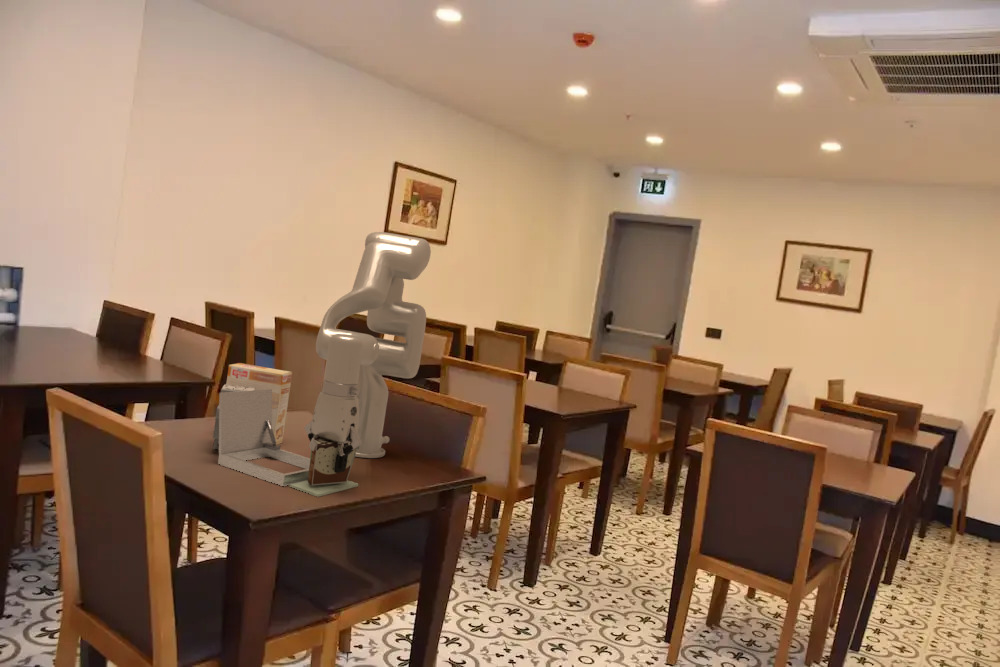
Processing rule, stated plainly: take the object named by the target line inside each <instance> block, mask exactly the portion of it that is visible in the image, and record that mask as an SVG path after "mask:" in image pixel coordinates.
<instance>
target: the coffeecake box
mask: <svg viewBox="0 0 1000 667" xmlns="http://www.w3.org/2000/svg"><path fill="white" fill-rule="evenodd" d="M227 368H228V370H227V377H226V383H225V384H227V385H235V386H238V387H242V386H244V387H253V388H255V390H268V389H272V429H273V433H274V436H275V440H276V444H278V445H280V444H282V443H283V440H284V434H285V433H284V432H285V428H286V425H285V424H286V420H287V411H288V405H289V398H290V390H291V383H292V377H293V371H289V370H285V369H284V370H282V369H277V368H270V367H265V366H259V365H254V364H248V363H242V362H237V363H232V364H228V367H227Z"/></svg>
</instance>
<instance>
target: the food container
mask: <svg viewBox="0 0 1000 667" xmlns="http://www.w3.org/2000/svg"><path fill="white" fill-rule="evenodd" d="M349 442H350V444H351V443H352V441H349ZM343 445H344V444H343ZM308 447H309V449H310V451H311V452H310V457H309V458H310V466H309V475H308V483H309V484H310V485H311V486H312V485H324V484H336V483H347V480H348V479H349V475H350V472H351V469H352V466H353V464H354V461H355V454H356V451H357V449H359V447H360V446H358V447H357V448H356V449H355V450H354V451H352V452H351V454H349V455H348V459H347V466H346V470H345V471H344V472H340V473H335V472H334V469H335V462H336V456H337V455H339V450H338V444H337V442H335V441H331V440H328V439H325V438H322V437H318V436H317V434H316V435H315V436H314V437H313V438H312V440H311V442H309V445H308ZM344 448H345V447H344Z"/></svg>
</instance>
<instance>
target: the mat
mask: <svg viewBox="0 0 1000 667" xmlns="http://www.w3.org/2000/svg"><path fill="white" fill-rule="evenodd" d="M290 487H292V488H291V489H293V488H295V490H296V489H297V491H299V490H300V492H302V491H303V492H302V493H305V492H306V493H305V494H308V493H309V494H308V495H311V496H314V497H316V496H317V497H316V498H318V497H319V498H320V497H323V496H326V495H329V494H335V493H337V492H342V491H346V490H349V489H354V488H356V487H357V488H358V487H359V483H357V482H355V481H352V480H347V483H336V484H324V485H312V486H311V485H310V484H309V483H308V480H307V481H303V482H299V483H294V484H290V485H289V488H290Z"/></svg>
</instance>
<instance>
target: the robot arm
mask: <svg viewBox="0 0 1000 667" xmlns="http://www.w3.org/2000/svg"><path fill="white" fill-rule="evenodd" d="M431 252H432V251H431V246H430V243H429V242H428V241H427V240H426V239H425V238H420V237H416V236H409V235H402V234H397V233H392V232H385V231H374V232H371V233H369V234H367V236H366V238H365V243H364V251H363V253H362V257H361V260H360V263H359V267H358V270H357V273H356V276H355V280H354V283H353V285H352V289H351V290H350V291H348V293H347V294H344V295H343V296H341V297H340V298H338V299H337V300H336V301H334V303H333V304H332V305H331V306H330V307H329V308H328V309H327V311H326V312H325V314H324V315H323V318H322V321H321V323H320V327H319V331H318V333H317V337H316V342H315V351H316V354H317V355H318V357H319V358H320V359H323V360H325V367H324V375H323V381H322V386H321V391H320V392H319V393H318V396H317V399H316V402H315V406H314V410H313V414H312V419H311V421H309V423H307V424H306V425H304V431H305V433H306V434H307V438H308V440H309V441H310V442H311V440H312V438H313V437H314V436H315V435H316V434H317V436H318V437H322V438H325V439H328V440H331V441H335V442H337V444H338V450H339V455H337V456H336V462H335V469H334V472H335V473H340V472H344V471H345V470H346V466H347V459H348V455H349V454H351V452H352V451H354V450H355V449H356V448H357V447H358V446H360V447H359V449H357V451H356V454H355V457H356V458H361V459H362V458H363V459H364V458H365V459H379V458H382V457H384V456H385V455H386V449H384V448H383V447H382V445H383V444H388V443H389V442H390V437H389V436H387V435H385V436H383V432H384V424H385V419H386V413H387V412H386V411H387V405H388V398H389V389H388V388H389V387H388V384H387V383H386V381H385V379H384V377H383V376H390V377H395V378H402V379H412V378H414V377H416V375H417V374H418V372H419V368H420V364H421V358H422V351H423V345H424V339H425V335H426V334H425V333H426V324H427V313H426V310H425V308H424V306H422V305H421V304H418V303H415V302H409V301H403V294H404V288H405V287H404V286H405V280H408V281H413V280H416V279H418V278H419V277H420V276H421V274H422V273H423V272H424V271H425V269H426V268H427V267H428V265H429V262H430V259H431ZM366 311H367V312H366ZM363 312H366V313H367V314H366V325H367V328H368V329H369V330H370V331H372V332H375V333H378V334H383V335H389V336H394V337H395V336H396V337H401V338H404V339H405V342H404V341H398V340H392V339H385V338H379V337H375V336H373V335H372V334H368V333H362V332H357V331H351V330H345V329H339V328H337V326H338V325H339V324H340V322H342V321H343V320H344V319H346V318H347V317H349V316H352V315H355V314H359V313H363ZM349 441H352V443H351V444H350V442H349ZM310 442H309V443H310ZM343 444H344V445H343ZM344 447H345V448H344ZM355 457H354V458H355Z"/></svg>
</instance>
